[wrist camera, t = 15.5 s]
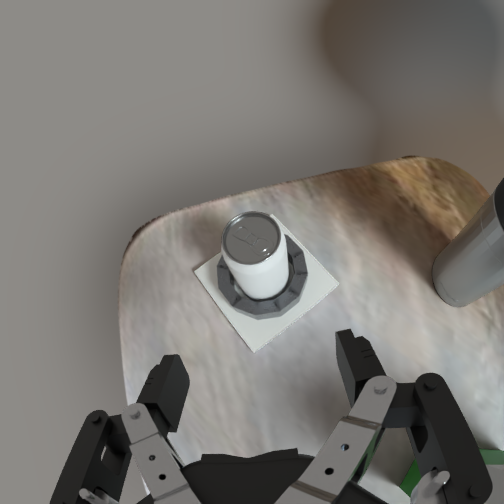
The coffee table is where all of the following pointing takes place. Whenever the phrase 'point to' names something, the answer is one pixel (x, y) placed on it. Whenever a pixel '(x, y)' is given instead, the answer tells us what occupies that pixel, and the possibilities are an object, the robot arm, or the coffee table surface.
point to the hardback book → (498, 465)
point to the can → (256, 255)
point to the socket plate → (268, 329)
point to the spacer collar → (272, 306)
